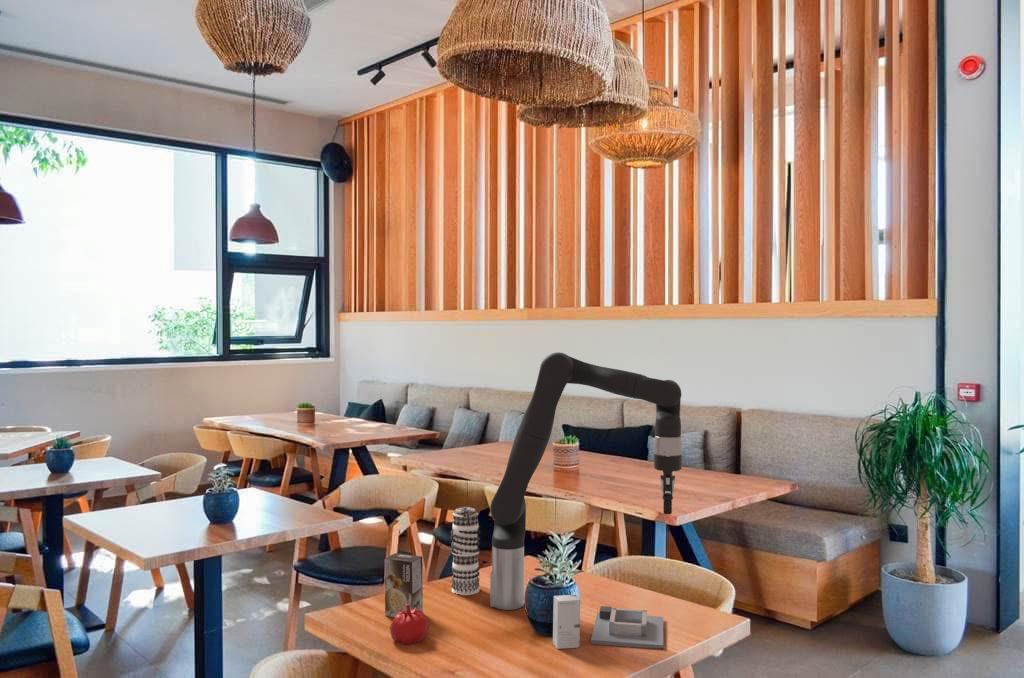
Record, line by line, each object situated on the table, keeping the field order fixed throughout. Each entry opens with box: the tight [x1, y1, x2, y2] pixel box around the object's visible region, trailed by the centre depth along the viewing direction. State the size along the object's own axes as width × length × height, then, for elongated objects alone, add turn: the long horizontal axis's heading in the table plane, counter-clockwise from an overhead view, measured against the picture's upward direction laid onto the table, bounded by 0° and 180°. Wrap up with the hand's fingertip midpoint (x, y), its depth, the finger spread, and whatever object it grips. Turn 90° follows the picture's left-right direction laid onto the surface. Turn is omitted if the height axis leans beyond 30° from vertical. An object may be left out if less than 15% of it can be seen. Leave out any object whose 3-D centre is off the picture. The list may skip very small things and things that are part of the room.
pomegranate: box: [389, 604, 430, 646], centre depth 209 cm, size 10×10×9 cm
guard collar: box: [609, 607, 648, 637], centre depth 214 cm, size 9×11×3 cm
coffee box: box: [384, 552, 424, 618], centre depth 227 cm, size 9×6×16 cm
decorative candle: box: [450, 506, 481, 596], centre depth 247 cm, size 9×9×25 cm
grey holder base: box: [590, 605, 664, 649], centre depth 214 cm, size 18×20×3 cm
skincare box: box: [552, 594, 581, 650], centre depth 205 cm, size 6×4×12 cm
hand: (667, 510), depth 226 cm, fingers open, 8 cm apart
